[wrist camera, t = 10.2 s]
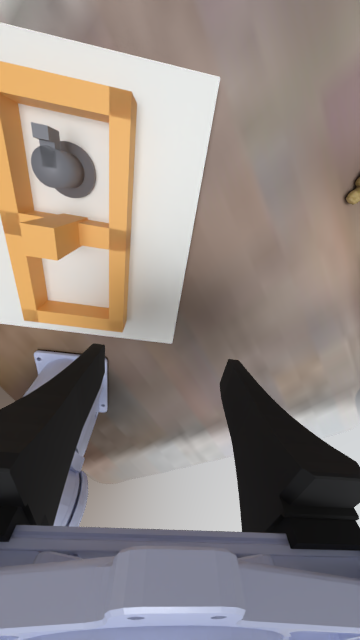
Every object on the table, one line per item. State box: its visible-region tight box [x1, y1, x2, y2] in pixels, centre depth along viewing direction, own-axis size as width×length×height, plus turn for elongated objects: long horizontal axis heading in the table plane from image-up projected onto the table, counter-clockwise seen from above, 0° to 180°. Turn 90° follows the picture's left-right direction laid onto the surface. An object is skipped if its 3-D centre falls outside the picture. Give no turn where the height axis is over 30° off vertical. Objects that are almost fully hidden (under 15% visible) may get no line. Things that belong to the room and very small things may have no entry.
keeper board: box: [0, 22, 220, 344], centre depth 16 cm, size 20×18×5 cm
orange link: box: [0, 61, 137, 332], centre depth 15 cm, size 16×8×6 cm, turn 171°
